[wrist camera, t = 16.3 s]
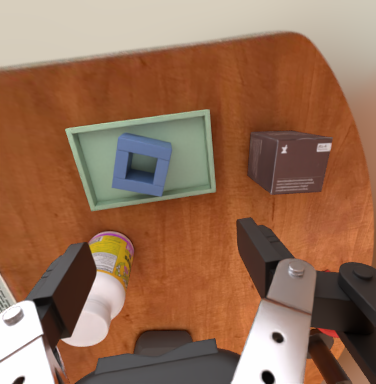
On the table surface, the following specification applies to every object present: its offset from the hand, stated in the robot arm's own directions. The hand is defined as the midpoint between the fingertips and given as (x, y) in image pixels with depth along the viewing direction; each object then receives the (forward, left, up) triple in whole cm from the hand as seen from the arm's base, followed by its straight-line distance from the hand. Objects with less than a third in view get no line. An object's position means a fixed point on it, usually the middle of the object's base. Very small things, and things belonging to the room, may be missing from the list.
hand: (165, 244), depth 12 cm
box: (-10, +10, -18) cm, 23 cm away
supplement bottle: (+15, +2, -18) cm, 24 cm away
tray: (+1, -2, -18) cm, 18 cm away
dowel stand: (+10, +47, -18) cm, 51 cm away
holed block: (+1, -2, -18) cm, 18 cm away
